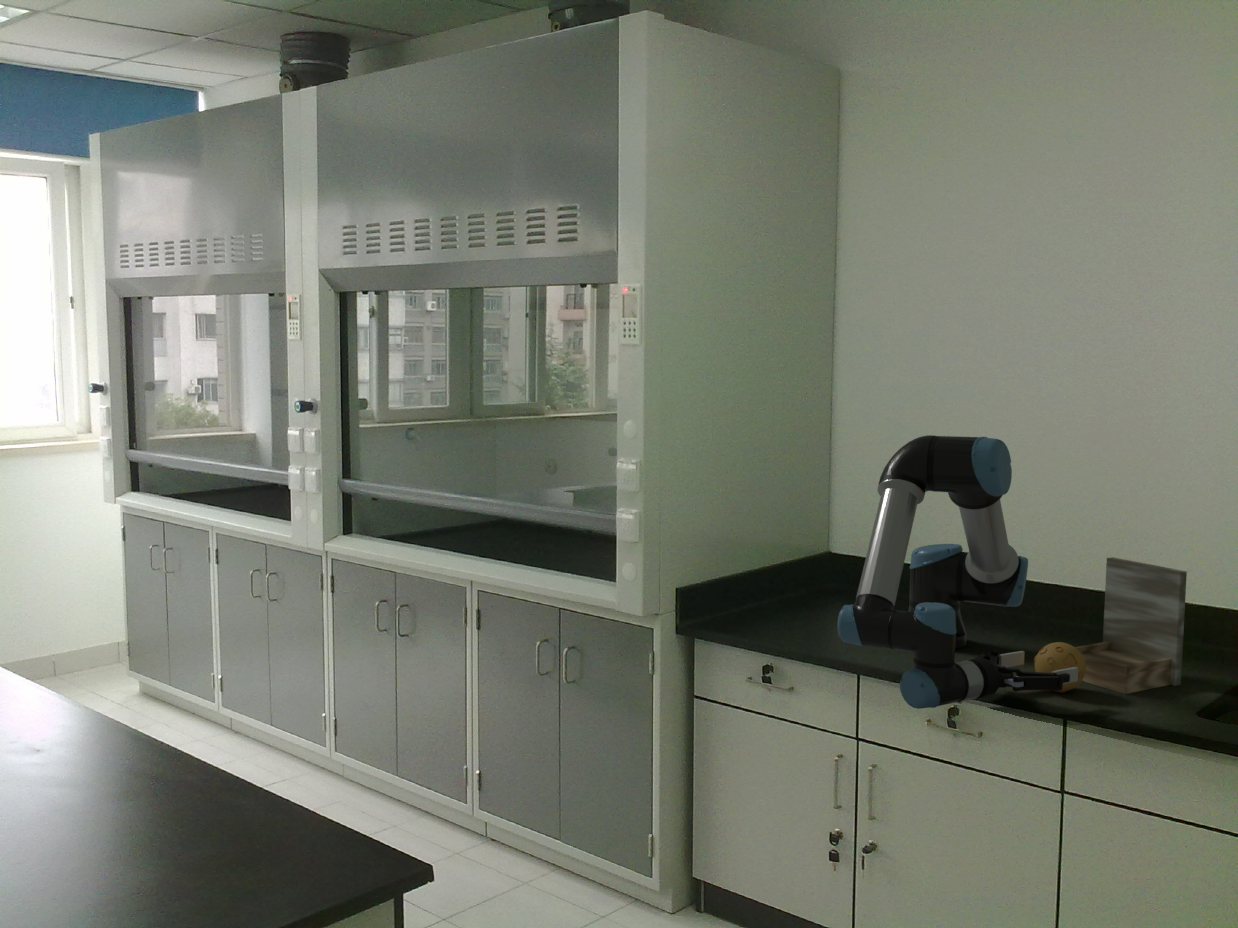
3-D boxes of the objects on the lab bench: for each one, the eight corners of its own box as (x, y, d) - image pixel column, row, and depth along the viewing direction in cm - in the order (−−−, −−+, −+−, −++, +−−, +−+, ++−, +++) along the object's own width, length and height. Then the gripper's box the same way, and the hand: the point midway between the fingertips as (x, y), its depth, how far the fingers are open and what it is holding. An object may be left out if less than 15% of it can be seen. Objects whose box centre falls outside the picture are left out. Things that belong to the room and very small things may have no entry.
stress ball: (1059, 687, 243) (1022, 655, 243) (1094, 656, 239) (1056, 624, 240) (1062, 708, 234) (1024, 676, 234) (1099, 677, 230) (1060, 644, 230)
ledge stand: (1129, 695, 234) (1134, 578, 232) (1057, 673, 250) (1062, 563, 247) (1180, 684, 242) (1186, 571, 239) (1107, 663, 257) (1112, 557, 255)
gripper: (925, 681, 236) (1001, 668, 246) (1020, 716, 214) (1099, 700, 224) (926, 645, 235) (1002, 633, 245) (1021, 676, 213) (1101, 662, 223)
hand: (1049, 665), depth 235 cm, fingers open, 13 cm apart
